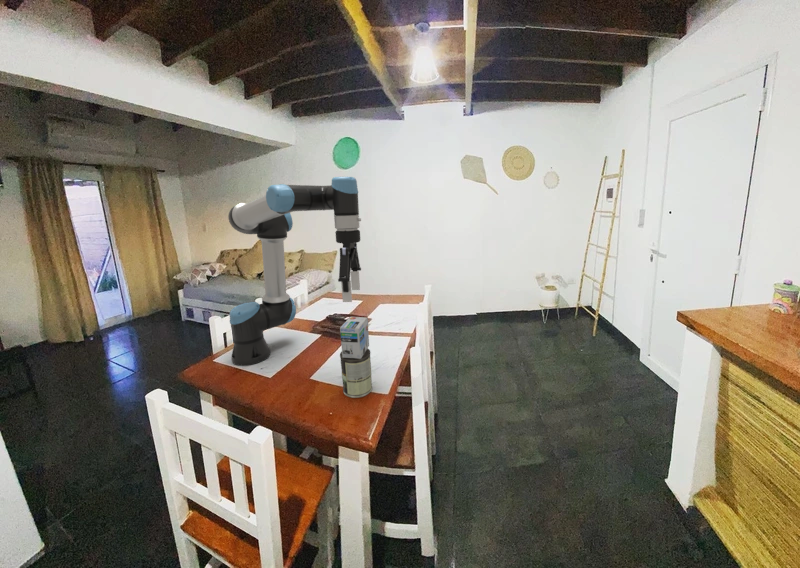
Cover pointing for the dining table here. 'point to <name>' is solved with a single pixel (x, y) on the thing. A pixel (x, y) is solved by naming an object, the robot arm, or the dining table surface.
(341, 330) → the light bulb box
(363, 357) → the coffee can
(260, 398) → the dining table surface
